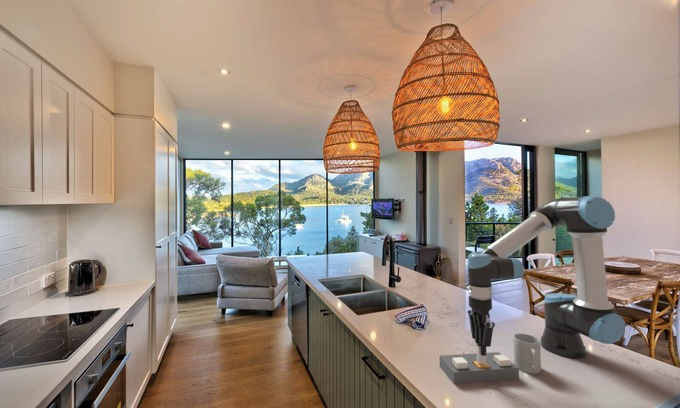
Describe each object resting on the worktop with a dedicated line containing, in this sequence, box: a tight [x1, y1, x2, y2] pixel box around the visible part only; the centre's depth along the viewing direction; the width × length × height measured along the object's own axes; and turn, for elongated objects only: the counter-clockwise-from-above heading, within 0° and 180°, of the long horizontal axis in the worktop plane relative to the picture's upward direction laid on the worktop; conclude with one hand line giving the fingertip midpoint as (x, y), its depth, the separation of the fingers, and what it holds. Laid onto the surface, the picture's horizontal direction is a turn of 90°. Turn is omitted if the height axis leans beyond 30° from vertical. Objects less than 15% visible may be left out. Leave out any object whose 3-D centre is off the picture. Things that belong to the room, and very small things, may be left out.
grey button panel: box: [438, 351, 520, 385], centre depth 102 cm, size 24×11×6 cm, turn 95°
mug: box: [513, 333, 542, 375], centre depth 104 cm, size 12×8×11 cm
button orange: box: [473, 361, 490, 369], centre depth 100 cm, size 4×4×3 cm
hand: (481, 362), depth 100 cm, fingers closed
